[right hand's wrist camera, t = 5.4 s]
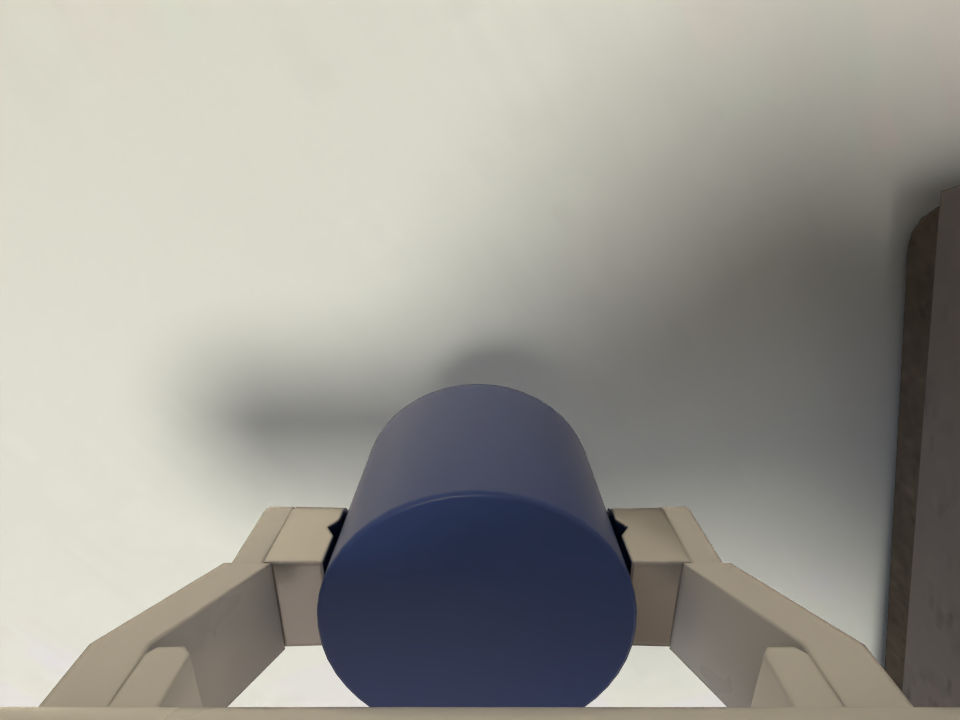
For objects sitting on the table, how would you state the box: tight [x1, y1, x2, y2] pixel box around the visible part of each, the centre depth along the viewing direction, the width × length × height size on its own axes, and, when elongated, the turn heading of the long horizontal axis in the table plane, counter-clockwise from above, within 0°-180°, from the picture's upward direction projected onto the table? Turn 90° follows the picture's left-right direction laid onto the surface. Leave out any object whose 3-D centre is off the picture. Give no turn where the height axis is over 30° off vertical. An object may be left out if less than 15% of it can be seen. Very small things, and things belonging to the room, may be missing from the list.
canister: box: [317, 384, 637, 707], centre depth 10 cm, size 5×5×4 cm
